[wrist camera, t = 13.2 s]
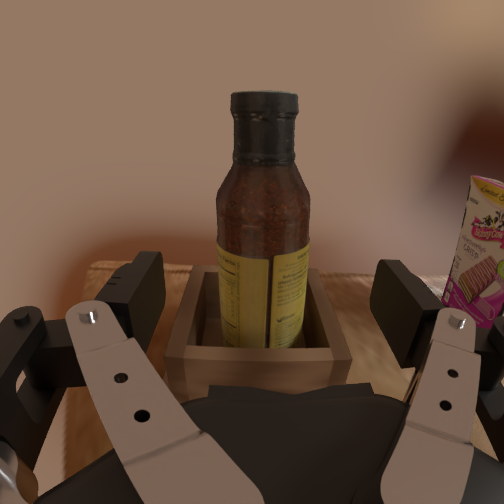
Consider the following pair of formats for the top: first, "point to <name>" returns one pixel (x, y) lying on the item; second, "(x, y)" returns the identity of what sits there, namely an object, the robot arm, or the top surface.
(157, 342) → the top surface
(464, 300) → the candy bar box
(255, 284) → the sauce bottle
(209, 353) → the walnut caddy
